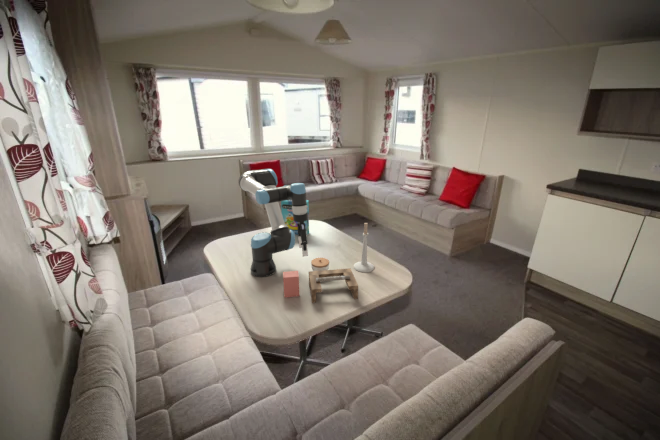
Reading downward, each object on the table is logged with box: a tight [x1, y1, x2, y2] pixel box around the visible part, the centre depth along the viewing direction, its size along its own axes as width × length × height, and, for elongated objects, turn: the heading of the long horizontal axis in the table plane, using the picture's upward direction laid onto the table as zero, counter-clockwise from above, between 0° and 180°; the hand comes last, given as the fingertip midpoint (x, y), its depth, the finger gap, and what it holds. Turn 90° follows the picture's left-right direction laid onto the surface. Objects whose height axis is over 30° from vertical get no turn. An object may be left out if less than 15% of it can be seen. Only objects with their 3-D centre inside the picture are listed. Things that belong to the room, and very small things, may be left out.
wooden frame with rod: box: [308, 267, 359, 304], centre depth 165 cm, size 24×18×10 cm
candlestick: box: [353, 222, 375, 273], centre depth 186 cm, size 13×13×30 cm
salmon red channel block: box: [282, 270, 300, 298], centre depth 162 cm, size 8×6×12 cm
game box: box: [280, 199, 310, 236], centre depth 237 cm, size 20×6×27 cm, turn 81°
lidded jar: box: [310, 257, 330, 271], centre depth 183 cm, size 11×11×9 cm
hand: (303, 251), depth 164 cm, fingers open, 13 cm apart
